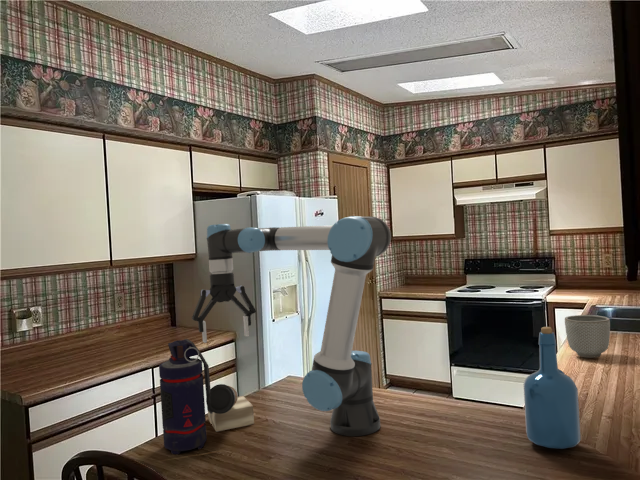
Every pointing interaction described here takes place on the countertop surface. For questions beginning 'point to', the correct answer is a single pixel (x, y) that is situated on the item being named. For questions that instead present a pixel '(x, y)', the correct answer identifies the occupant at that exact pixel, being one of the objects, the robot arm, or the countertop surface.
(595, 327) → the planter
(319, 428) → the countertop surface
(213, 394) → the coffee cup
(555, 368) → the wine bottle
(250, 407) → the maple block
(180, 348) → the grenade
